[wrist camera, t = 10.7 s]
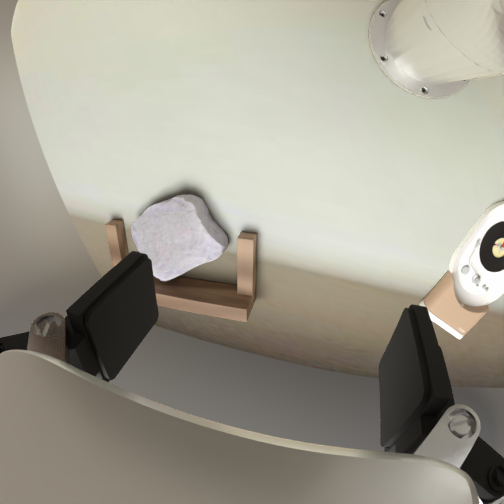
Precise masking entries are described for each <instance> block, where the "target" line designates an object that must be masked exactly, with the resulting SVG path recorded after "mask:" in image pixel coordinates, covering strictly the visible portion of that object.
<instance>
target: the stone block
mask: <svg viewBox="0 0 504 504" xmlns="http://www.w3.org/2000/svg"><path fill="white" fill-rule="evenodd" d="M131 231H132V237H133V240H134V242H135V243H136V246H137V248H138V250H139V252H140V253H145V254H147V255H148V258H150V259H151V261H152V269H153V275H154V276H155V277H156V278H159V279H160V280H161V281H167V280H171V279H173V278H175V277H177V276H179V275H182V274H183V273H185V272H187V271H189V270H191V269H192V268H194V267H196V266H198V265H201V264H204V263H206V262H211V261H213V260H215V259H217V258H218V257H219V256H221V254H222V253H223V252H224V251H225V250H226V249H227V247H228V237H227V235H226V234H225V232H224V231H223V230H222V228H221V227H220V226H219V225H218V224H217V223H216V222H215V221H214V220H213V219H212V217H211V216H210V213H209V210H208V208H207V206H206V204H205V203H204V201H203V200H202V198H199V197H197V196H195V195H190V194H189V195H178V196H175V197H173V198H171V199H168V200H165V201H161V202H160V203H156V204H154V205H152V206H149V207H148V208H147V209H146V210H145V211H144V212H143V214H142V215H140V216H139V218H138V219H137V220H136V221H135V222H134V223H133V225H132V227H131Z"/></svg>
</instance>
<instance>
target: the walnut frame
mask: <svg viewBox="0 0 504 504" xmlns="http://www.w3.org/2000/svg"><path fill="white" fill-rule="evenodd" d="M105 226H106V232H107V238H108V243H109V248H110V254H111V259H112V263H113V267H114V266H116V265H117V264H118V263H119V262H120V261H121V260H122V259H124V258H125V257H126V256H127V255H128V254H129V253H128V248H127V242H126V235H125V229H124V222H123V220H112V221H110V222H109V223H107V224H105ZM256 254H257V234H255V233H245V232H241V233H240V235H239V236H238V238H237V285H231V284H225V283H218V282H212V281H205V280H199V279H192V278H186V277H180V276H177V277H175V278H173V279H171V280H167V281H161V280H160V279H159V278H156V277H155V276H154V275H153V277H154V285H155V292H156V300H157V305H159V306H164V307H169V308H174V309H179V310H183V311H189V312H194V313H199V314H204V315H209V316H215V317H220V318H226V319H232V320H238V321H244V322H247V320H248V317H249V315H250V312H251V309H252V307H253V304H254V302H255V290H256Z"/></svg>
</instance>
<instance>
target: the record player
mask: <svg viewBox="0 0 504 504" xmlns="http://www.w3.org/2000/svg"><path fill="white" fill-rule="evenodd" d="M503 293H504V201H501V202H498V203H495V204H493V205H492V206H490V207H489V208H487V209H486V210H485V211H484V212H483V214H482V215H481V216H480V217H479V219H478V220H477V221H476V223H475V224H474V225H473V227H472V228H471V229H470V231H469V232H468V234H467V235H466V236H465V238H464V239H463V240H462V242H461V243H460V244H459V246H458V247H457V249H456V250H455V252H454V254H453V256H452V258H451V261H450V264H449V270H448V272H447V273H446V274H445V275H444V276H443V277H442V279H441V280H440V281H439V282H438V283H437V284H436V286H435V287H434V288H433V289H432V290H431V291H430V292H429V293H428V295H427V296H426V297H425V298H424V299H423V300H422V301H421V302H420V303H419V305H420V306H424V307H427V309H428V312H429V315H430V319H431V320H432V321H433V322H435V323H436V324H438V325H439V326H441V327H442V328H444V329H445V330H446V331H448V332H449V333H451V334H452V335H454V336H455V337H456V338H458V339H459V340H460V339H461V338H462V337H463V336H464V335H465V334H466V333H467V332H468V331H469V330H470V329H471V328H472V327H473V326H474V325H475V324H476V323H477V322H478V321H479V320H480V319H481V318H482V316H483V315H484V314H485V313H486V312H487V311H488V305H487V304H489V303H491V302H493V301H495V300H496V299H498V298H499V297H500V296H501V295H502V294H503Z"/></svg>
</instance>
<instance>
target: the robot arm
mask: <svg viewBox="0 0 504 504" xmlns="http://www.w3.org/2000/svg"><path fill="white" fill-rule="evenodd" d="M380 14H383V15H384V17H382V16H381V15H380ZM369 42H370V47H371V50H372V53H373V55H374V58H375V60H376V61H377V63H378V65H379V66H380V68H381V69H382V70H383V72H384V73H385V74H386V75H387V76H388V77H389V78H390V79H391V80H392V81H393V82H394V83H395V84H396V85H398V86H399V87H401V88H402V89H404V90H405V91H408V92H410V93H412V94H414V95H417V96H421V97H424V98H434V99H435V98H444V97H449V96H452V95H454V94H456V93H458V92H459V91H460V90H461V89H463V88H464V87H465V85H466V84H467V83H468V81H469V79H475V78H482V77H489V76H498V75H504V0H387V1H385V2H384V3H383V4H382V5H380V6H379V7H378V8H377V10H376V12H375V13H374V15H373V17H372V19H371V22H370V27H369ZM381 57H384V59H385V61H382V60H381ZM422 88H423V89H424V90H425V92H424V93H423V92H422ZM66 312H67V315H68V316H67V317H66V318H64V317H63V315H61V314H59V313H55V312H49V313H45V314H42V315H40V316H39V317H37V318H36V319H35V320H34V321H33V323H32V324H31V327H30V332H26V333H21V334H16V335H12V336H7V337H2V338H0V504H504V458H503V457H502V456H501V455H500V454H498V453H497V452H496V451H495V450H494V449H493V448H492V447H490V446H489V445H488V444H487V443H486V442H485V441H483V440H482V439H481V438H480V437H479V436H478V435H479V432H480V421H479V418H478V416H477V414H476V413H475V412H474V411H473V410H472V409H471V408H469V407H467V406H465V405H461V404H459V405H455V404H454V399H453V394H452V389H451V385H450V380H449V376H448V372H447V368H446V364H445V361H444V357H443V353H442V350H441V348H440V346H439V345H438V342H437V338H436V335H435V331H434V328H433V325H432V322H431V319H430V315H429V312H428V309H427V307H424V306H418V305H410V307H409V308H405V309H404V311H403V313H402V315H401V318H400V320H399V322H398V324H397V327H396V329H395V331H394V333H393V335H392V338H391V340H390V342H389V344H388V346H387V348H386V350H385V352H384V354H383V356H382V358H381V361H380V364H379V382H380V413H381V446H382V447H385V452H384V451H370V450H360V449H351V448H342V447H334V446H327V445H320V444H313V443H307V442H301V441H295V440H289V439H284V438H279V437H274V436H269V435H265V434H261V433H256V432H252V431H248V430H243V429H239V428H236V427H232V426H228V425H225V424H221V423H217V422H214V421H211V420H207V419H204V418H201V417H197V416H194V415H191V414H188V413H185V412H182V411H179V410H176V409H173V408H170V407H168V406H165V405H162V404H159V403H157V402H154V401H151V400H149V399H146V398H144V397H141V396H138V395H136V394H134V393H131V392H129V391H126V390H124V389H122V388H119V387H117V386H115V385H113V384H110V383H108V382H109V381H110V380H113V379H114V378H115V377H116V376H117V374H118V373H119V372H120V370H121V369H122V367H123V366H124V365H125V363H126V362H127V361H128V359H129V358H130V357H131V355H132V354H133V352H134V351H135V349H136V348H137V347H138V346H139V344H140V343H141V342H142V340H143V339H144V338H145V336H146V335H147V333H148V332H149V331H150V329H151V328H152V327H153V325H154V324H155V323H156V321H157V319H158V307H157V300H156V292H155V285H154V277H153V269H152V261H151V259H150V258H148V255H147V254H145V253H140V252H135V251H132V252H131V253H129V254H128V255H127V256H126V257H125V258H124V259H122V260H121V261H120V262H119V263H118V264H117V265H116V266H114V267H113V268H112V269H111V270H110V271H109V272H108V273H106V274H105V275H104V276H103V277H102V278H101V279H100V280H99V281H98V282H96V283H95V284H94V285H93V286H92V287H91V288H90V289H89V290H88V291H87V292H85V294H83V295H82V296H81V297H80V298H79V299H78V300H77V301H76V302H75V303H74V304H73V305H72V306H71V307H69V308H68V309H67V310H66Z"/></svg>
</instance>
